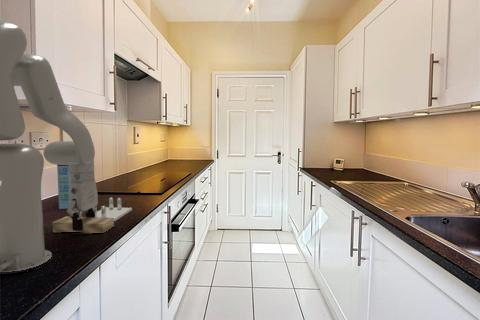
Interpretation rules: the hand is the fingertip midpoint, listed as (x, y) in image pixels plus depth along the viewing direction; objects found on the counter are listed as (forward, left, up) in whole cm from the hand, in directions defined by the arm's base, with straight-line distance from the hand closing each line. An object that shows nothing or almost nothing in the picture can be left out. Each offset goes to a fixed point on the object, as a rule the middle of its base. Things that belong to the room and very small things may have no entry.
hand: (84, 226), depth 100 cm
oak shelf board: (0, 0, -1) cm, 1 cm away
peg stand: (+16, 0, -1) cm, 16 cm away
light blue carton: (+34, +27, -2) cm, 44 cm away
